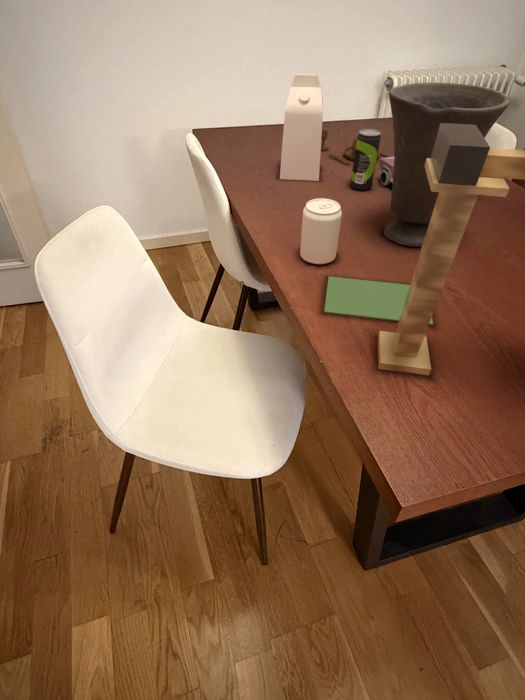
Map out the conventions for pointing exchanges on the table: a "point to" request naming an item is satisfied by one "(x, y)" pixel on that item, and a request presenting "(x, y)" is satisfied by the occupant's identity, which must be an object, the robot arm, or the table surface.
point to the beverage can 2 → (365, 159)
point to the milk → (302, 129)
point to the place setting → (348, 151)
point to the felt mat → (366, 298)
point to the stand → (432, 271)
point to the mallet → (472, 157)
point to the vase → (429, 145)
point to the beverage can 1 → (320, 230)
